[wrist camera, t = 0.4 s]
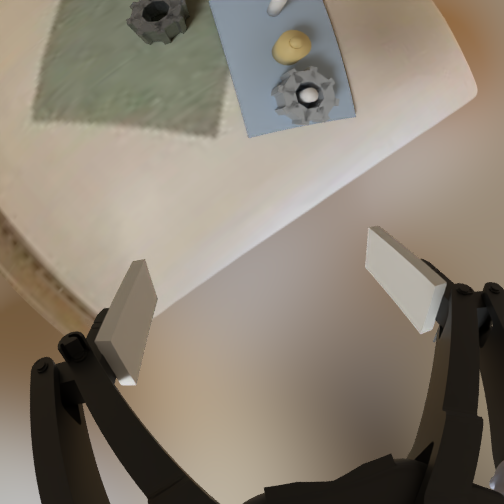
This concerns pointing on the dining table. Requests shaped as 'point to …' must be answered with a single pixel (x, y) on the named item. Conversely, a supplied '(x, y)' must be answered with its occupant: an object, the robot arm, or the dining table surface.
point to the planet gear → (173, 23)
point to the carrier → (283, 63)
